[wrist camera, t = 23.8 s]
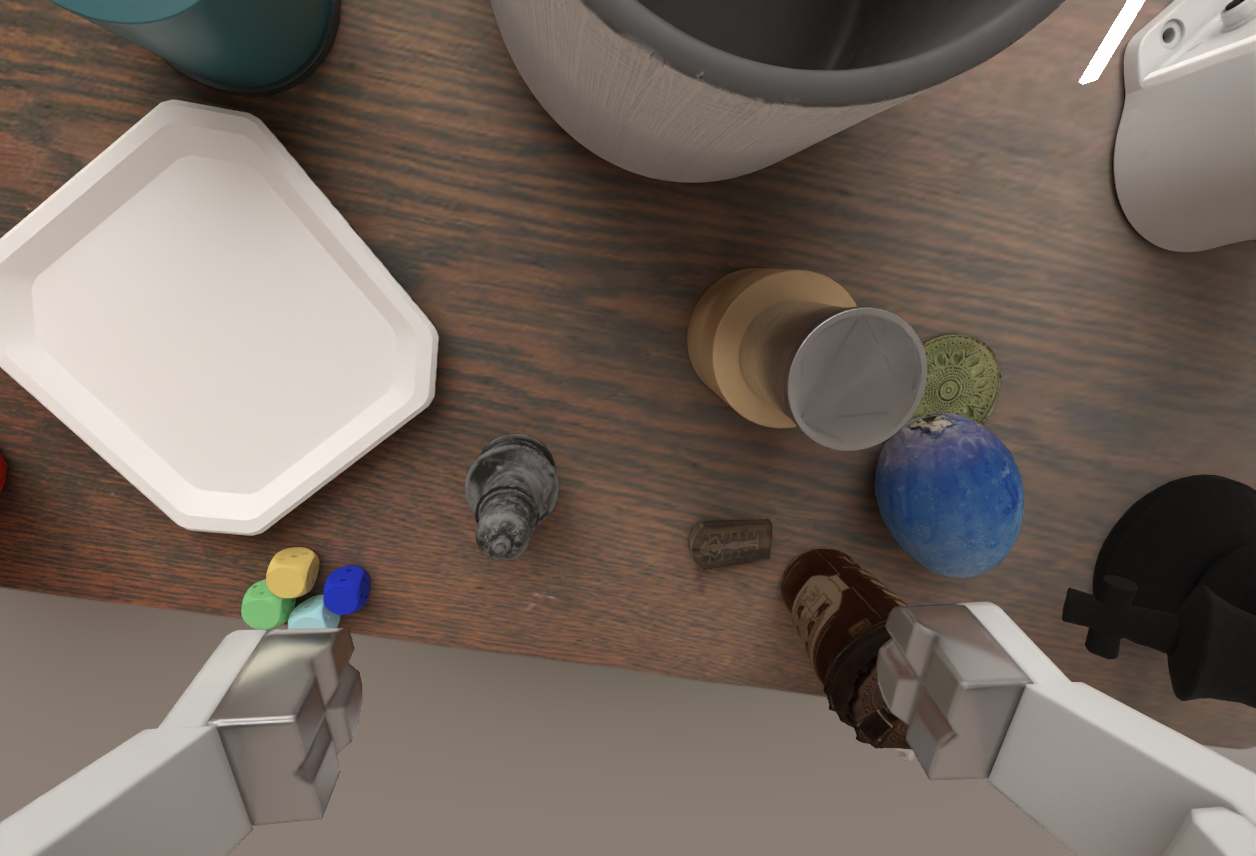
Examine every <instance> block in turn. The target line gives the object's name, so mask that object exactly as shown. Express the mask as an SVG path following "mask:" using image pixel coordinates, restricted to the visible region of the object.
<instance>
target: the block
mask: <svg viewBox="0 0 1256 856" xmlns="http://www.w3.org/2000/svg"><path fill="white" fill-rule="evenodd" d="M771 539H772V523H771V521H770V520H769V519H763V520H761V519H760V520H736V521H734V520H731V521H703V522H701V523H699V524H698V525H697V526H696V527H694V528H693V529H692V531H691V533H690V535H689V541H688V544H689V549H690V552H691V554H692V556H693V559H694V561H695V562H696V564H697V565H698V566H699V567H700V568H702V569H703V570H706V569H712V568H713V569H714V568H720V567H725V566H731V565H737V564H743V563H748V562H754V561H758V560H766V559H769V558H770V548H771Z"/></svg>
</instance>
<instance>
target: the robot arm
mask: <svg viewBox="0 0 1256 856" xmlns="http://www.w3.org/2000/svg"><path fill="white" fill-rule="evenodd" d="M1144 1H1145V0H1127V2H1126V4H1125V5H1124V7H1123V9H1122V10H1121V12H1120V14H1119V15H1118V17H1117V19H1116V21H1115V22H1114V24H1113V26H1112V27H1111V29H1110V31H1109V32H1108V34H1107V36H1106V37H1105V39H1104V41H1103V42H1102V44H1101V46H1100V47H1099V49H1098V51H1097V52H1096V54H1095V56H1094V57H1093V59H1092V61H1091V62H1090V64H1089V66H1088V67H1087V69H1086V71H1085V72H1084V74H1083V76H1082V77H1081V79H1080V81H1079V82H1080V83H1081V84H1082V85H1083V84H1086V83H1089V82H1092V81H1095V80H1097V79H1098V77H1099V76H1100V74H1101V72H1102V71H1103V69H1104V67H1105V66H1106V64H1107V62H1108V61H1109V59H1110V57H1111V56H1112V54H1113V52H1114V51H1115V49H1116V47H1117V46H1118V44H1119V43H1120V41H1121V39H1122V38H1123V36H1124V34H1125V33H1126V31H1127V29H1128V28H1129V26H1130V24H1131V23H1132V21H1133V19H1134V18H1135V16H1136V14H1137V13H1138V11H1139V9H1140V8H1141V6H1142V4H1143V3H1144ZM1163 35H1164V41H1163ZM1124 82H1125V92H1126V97H1125V104H1124V109H1123V113H1122V117H1121V120H1120V124H1119V128H1118V132H1117V137H1116V143H1115V150H1114V179H1115V186H1116V191H1117V195H1118V199H1119V202H1120V205H1121V207H1122V209H1123V212H1124V214H1125V215H1126V217H1127V219H1128V220H1129V222H1130V223H1131V225H1132V226H1133V227H1134V229H1135V230H1136V231H1137V232H1138V233H1139V234H1140V235H1141V236H1142V237H1144V238H1145V239H1146V240H1148V241H1149V242H1151V243H1152V244H1154V245H1156V246H1158V247H1161V248H1164V249H1167V250H1171V251H1176V252H1197V251H1203V250H1208V249H1212V248H1216V247H1220V246H1224V245H1228V244H1232V243H1237V242H1242V241H1248V240H1256V0H1174V1H1173V2H1172V3H1171V4H1170V5H1168V6H1167V7H1166V8H1165V9H1164V10H1163V11H1161V12H1160V13H1159V14H1158V15H1157V16H1156V17H1155V18H1153V19H1152V20H1151V21H1150V22H1149V23H1148V24H1146V25H1145V26H1144V27H1143V28H1142V29H1141V30H1139V31H1138V32H1137V33H1136V34H1135V35H1134V36H1133V37H1132V38H1131V40H1130V41H1129V43H1128V44H1127V47H1126V50H1125V54H1124ZM885 627H886V629H887V630H888V632H889V634H890V635H891V637H892V638H891V639H890V640H888V641H887V642H886V643H885V644H884V645H883V646H882V647H881V648H880V649H879V654H878V659H877V664H876V670H877V679H878V685H879V688H880V691H881V694H882V697H883V699H884V701H885V703H886V705H887V706H888V708H889V710H890V712H891V713H892V714H894V715H895V716H896V717H898V718H899V719H901V720H902V721H903V722H905V723H906V724H908V729H907V735H906V740H907V742H908V743H909V745H910V747H911V748H912V750H913V752H914V754H915V755H916V757H917V758H918V761H919V762H920V764H921V766H922V767H923V769H924V771H925V773H926V774H927V776H928V778H929V779H930V780H952V779H983V778H988V782H989V783H990V784H991V785H992V786H993V787H994V788H996V789H997V790H998V791H999V792H1000V793H1002V794H1003V795H1004V796H1005V797H1006V798H1008V799H1009V800H1010V801H1011V802H1012V803H1014V804H1015V805H1016V806H1017V807H1019V808H1020V809H1021V810H1022V811H1023V812H1024V813H1026V814H1027V815H1028V816H1029V817H1030V818H1031V819H1033V820H1034V821H1035V822H1036V823H1037V824H1039V825H1040V826H1041V827H1042V828H1043V829H1045V830H1046V831H1047V832H1048V833H1049V834H1051V835H1052V836H1053V837H1054V838H1055V839H1057V840H1058V841H1059V842H1060V843H1061V844H1063V845H1064V846H1065V847H1066V848H1067V849H1069V850H1070V851H1071V852H1072V853H1073V854H1075V855H1076V856H1256V773H1254V772H1252V771H1250V770H1248V769H1247V768H1245V767H1243V766H1241V765H1239V764H1237V763H1235V762H1233V761H1232V760H1229V759H1228V758H1226V757H1224V756H1222V755H1220V754H1218V753H1216V752H1214V751H1212V750H1211V749H1209V748H1207V747H1205V746H1203V745H1201V744H1199V743H1197V742H1195V741H1193V740H1192V739H1190V738H1188V737H1186V736H1184V735H1182V734H1180V733H1178V732H1176V731H1174V730H1173V729H1171V728H1169V727H1167V726H1165V725H1163V724H1161V723H1159V722H1157V721H1155V720H1153V719H1152V718H1150V717H1148V716H1146V715H1144V714H1142V713H1140V712H1138V711H1136V710H1134V709H1133V708H1131V707H1129V706H1127V705H1125V704H1123V703H1121V702H1119V701H1117V700H1115V699H1114V698H1112V697H1110V696H1108V695H1106V694H1104V693H1102V692H1100V691H1098V690H1096V689H1094V688H1093V687H1091V686H1089V685H1087V684H1085V683H1083V682H1071V681H1070V680H1069V679H1068V678H1067V677H1066V676H1065V675H1064V674H1063V673H1062V672H1061V671H1060V670H1059V669H1058V668H1057V666H1056V665H1055V664H1054V663H1053V662H1052V661H1051V660H1050V659H1049V658H1048V657H1047V656H1046V655H1045V654H1044V653H1043V652H1042V651H1041V650H1040V649H1039V648H1038V647H1037V646H1036V645H1035V644H1034V642H1033V641H1032V640H1031V639H1030V638H1029V637H1028V636H1027V635H1026V634H1025V633H1024V632H1023V631H1022V630H1021V629H1020V628H1019V627H1018V626H1017V625H1016V624H1015V623H1014V622H1013V621H1012V620H1011V618H1010V617H1009V616H1008V615H1007V614H1006V613H1005V612H1004V611H1003V610H1002V609H1001V608H1000V607H999V606H997V605H995V604H993V603H991V602H971V603H957V604H941V605H920V606H898V607H894V608H893V609H892V611H891V612H890V613H889V615H888V618H887V622H886V626H885ZM353 651H354V645H353V642H352V637H351V633H350V631H349V630H347V629H345V628H305V629H273V630H236V631H234V632H232V633H231V634H229V635H227V636H226V637H225V638H224V639H223V640H222V642H221V643H220V644H219V646H218V647H217V648H216V650H215V651H214V653H213V654H212V655H211V657H210V658H209V659H208V660H207V662H206V663H205V665H204V666H203V667H202V669H201V670H200V671H199V673H198V674H197V675H196V677H195V678H194V679H193V681H192V682H191V684H190V685H189V686H188V688H187V689H186V690H185V692H184V693H183V694H182V696H181V697H180V699H179V700H178V701H177V703H176V704H175V705H174V707H173V708H172V709H171V711H170V712H169V713H168V715H167V716H166V717H165V719H164V720H163V721H162V723H161V724H160V726H159V727H158V728H157V729H145V730H143V731H141V732H140V733H139V734H137V735H135V736H134V737H132V738H130V739H129V740H127V741H126V742H124V743H123V744H121V745H120V746H118V747H117V748H115V749H113V750H112V751H110V752H109V753H107V754H106V755H104V756H103V757H101V758H99V759H98V760H96V761H95V762H93V763H92V764H90V765H89V766H87V767H86V768H84V769H82V770H81V771H79V772H78V773H76V774H75V775H73V776H71V777H70V778H69V779H67V780H65V781H64V782H62V783H61V784H59V785H58V786H56V787H54V788H53V789H51V790H50V791H48V792H47V793H45V794H44V795H42V796H41V797H39V798H37V799H36V800H34V801H33V802H31V803H30V804H28V805H26V806H25V807H24V808H22V809H20V810H19V811H17V812H16V813H14V814H13V815H11V816H10V817H8V818H6V819H5V820H3V821H2V822H0V856H228V855H229V854H230V853H231V852H232V851H233V850H234V849H235V848H236V847H237V846H238V845H239V844H240V843H241V841H243V840H244V839H245V838H246V836H248V835H249V833H250V832H251V831H252V830H253V828H252V826H256V825H265V824H277V823H288V822H299V821H308V820H319V819H322V818H323V815H324V813H325V810H326V807H327V805H328V802H329V800H330V797H331V795H332V792H333V789H334V787H335V784H336V782H337V779H338V777H339V774H340V767H339V763H338V759H337V754H338V753H340V752H341V751H342V750H343V749H344V748H345V747H346V746H347V745H349V744H350V743H351V742H352V740H353V737H354V734H355V731H356V729H357V726H358V723H359V718H360V712H361V706H362V683H361V677H360V672H359V671H358V670H356V669H355V668H354V667H353V666H352V665H350V664H349V663H348V662H349V660H350V658H351V656H352V653H353Z"/></svg>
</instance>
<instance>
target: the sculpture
mask: <svg viewBox="0 0 1256 856" xmlns="http://www.w3.org/2000/svg"><path fill="white" fill-rule="evenodd" d="M1093 589H1094V595H1091V594H1088V593H1085V592H1082V591H1078V590H1075V589H1072V588H1068V591H1067V595H1066V599H1065V603H1064V607H1063V614H1062V619H1063V621H1065V622H1069V623H1073V624H1078V625H1082V626H1086V627H1089V631H1088V634H1087V638H1086V642H1085V646H1086V648H1087V649H1088V650H1089V652H1091V653H1093V654H1096V655H1098V656H1101V657H1104V658H1107V659H1115V658H1117V657H1118V653H1119V646H1120V639H1121V638H1126V639H1129V640H1131V641H1133V642H1135V643H1137V644H1140V645H1143V646H1148V647H1150V648H1153V649H1156V650H1159V651H1161V652H1164V653H1167V658H1168V667H1169V673H1170V677H1171V682H1172V687H1173V691H1174V693H1175V695H1176V697H1177V698H1178V699H1180V700H1181V701H1187V700H1192V699H1198V698H1212V699H1219V700H1226V701H1232V702H1239V703H1243V704H1246V705H1248V706H1251V707H1254V708H1256V490H1254V489H1253V488H1251V487H1249V486H1247V485H1245V484H1242V483H1240V482H1237V481H1234V480H1231V479H1228V478H1225V477H1220V476H1216V475H1196V476H1190V477H1186V478H1181V479H1178V480H1175V481H1172V482H1169V483H1167V484H1165V485H1163V486H1161V487H1159V488H1158V489H1156V490H1154V491H1152V492H1151V493H1149V494H1147V495H1146V496H1145V497H1143V498H1142V499H1140V500H1139V501H1137V502H1136V503H1135V504H1134V505H1133V506H1132V507H1131V508H1130V509H1129V510H1128V511H1127V512H1126V513H1125V514H1124V516H1123V517H1122V518H1121V519H1120V520H1119V521H1118V523H1117V524H1116V525H1115V527H1114V528H1113V529H1112V531H1111V532H1110V534H1109V536H1108V537H1107V539H1106V541H1105V543H1104V545H1103V547H1102V549H1101V551H1100V554H1099V557H1098V560H1097V563H1096V567H1095V573H1094V582H1093Z"/></svg>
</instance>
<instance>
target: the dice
mask: <svg viewBox="0 0 1256 856" xmlns="http://www.w3.org/2000/svg"><path fill="white" fill-rule="evenodd" d="M319 565H320V561H319V557H318V556H317V555H316V554H315V553H314V552H313V551H312V550H310V549H308V548H304V547H292V548H287V549H284V550H281V551H280V552H278V553H277V554H275V556H274V557H273V558H272V560H271V562H270V564H269V567H268V570H267V574H266V579H265V580H262V581H259V582H257V583H255V584H254V585H252V586H251V587H250V588H249V589H248V590H247V592H246V594H245V596H244V599H243V602H242V608H241V615H242V618H243V620H244V621H245V623H246V624H248V625H249V626H250V627H252V628H255V629H259V630H267V629H272V628H276V627H278V626H280V625H282V624H284V623H285V622H286V621H287V620H288V629H305V628H336V627H337V626H338V624H339V621H340V615H347V614H351V613H354V612H356V611H358V610H359V609H361V608H362V607H363V606H364V605H365V604H366V602H367V599H368V595H369V590H370V578H369V575H368V573H367V572H366V571H365V570H364V569H362V568H360V567H357V566H346V567H342V568H339V569H337V570H335V571H333V572H332V573H331V574H330V575H329V576H328V578H327V580H326V582H325V586H324V591H323V595H316V596H313V597H311V598H309V599H307V600H305V601H303V602H302V603H300V604H299V605H298V606H297V607H295V602H296V597H300V596H302V595H305V594H306V593H308V592H309V591H310V590H311V589H312V588H313V586H314V584H315V582H316V579H317V576H318V572H319ZM294 607H295V608H294Z"/></svg>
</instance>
